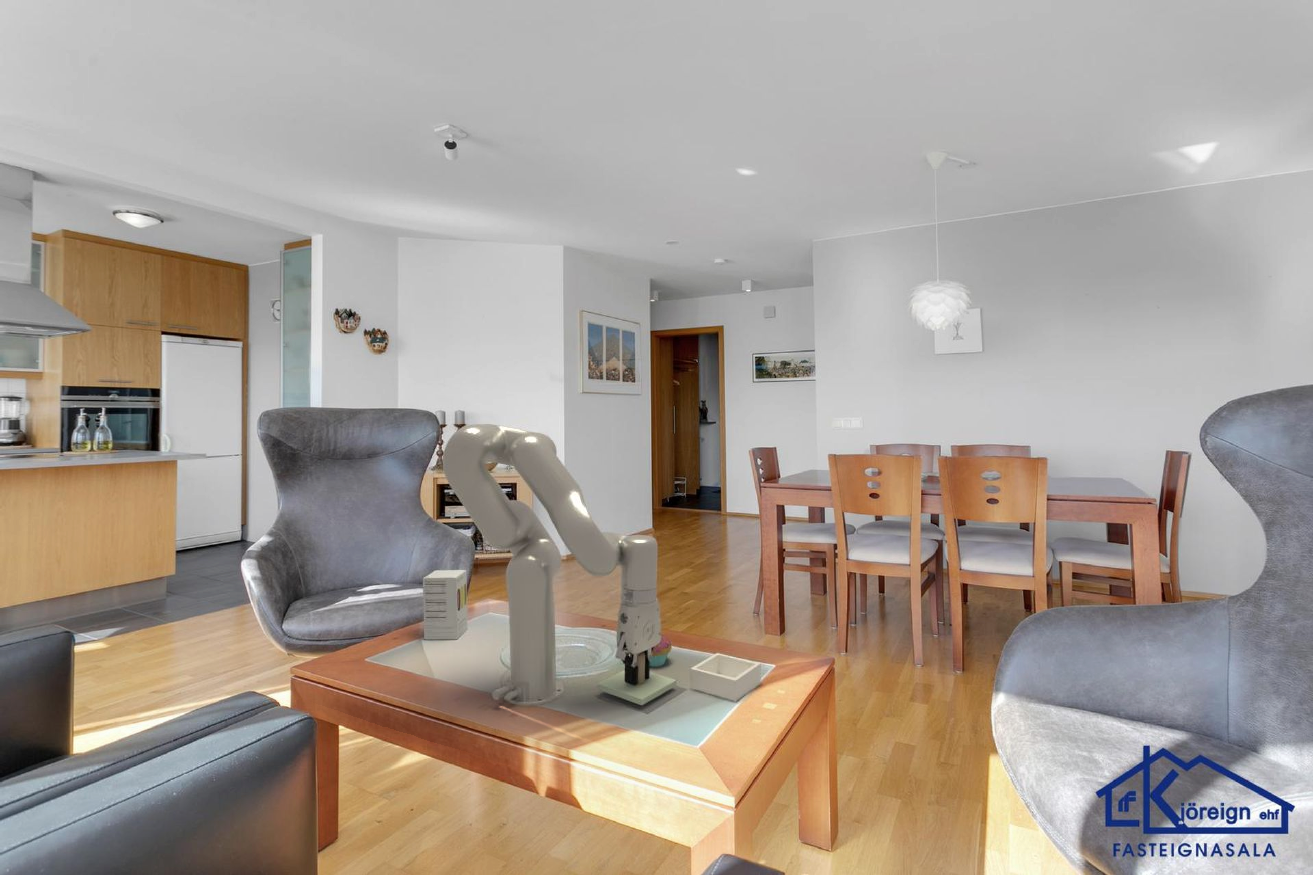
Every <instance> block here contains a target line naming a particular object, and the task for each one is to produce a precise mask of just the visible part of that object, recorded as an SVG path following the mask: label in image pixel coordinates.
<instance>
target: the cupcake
mask: <svg viewBox="0 0 1313 875" xmlns="http://www.w3.org/2000/svg"><path fill="white" fill-rule="evenodd" d="M668 638H669V637H668ZM668 638H667V636H664V635H662V634H661V640H660V642H659V644H657V645H656V646H655V647H654V649H653V651H652V658H651V660H649V661H650V667H661V666H663V665H665V663H666V659H667V656H668V655H669V653H670V652H671V650H672V648H673V647H672V642H671V640H670V639H668Z"/></svg>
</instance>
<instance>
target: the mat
mask: <svg viewBox="0 0 1313 875" xmlns="http://www.w3.org/2000/svg"><path fill="white" fill-rule="evenodd" d="M686 691H688V688H685V687H681V686H678V685H676V686H675V687H673V688H672V689H670V690H668V691H666V692H664V693H663V694H661V695H659V696H657V697H656V698H654V699H652V700H650V701H649V702H647V703H645V704H643V705H639V704H637V703H634V702H631V701H628V700H626V699H623V698H620V697H617V696H615V695H612V694H609V693H606V692H603V691H601V692H600V693H597V694H596V695H595V696H594V698H595V697H596V698H598V699H602V700H604V701H607V702H610V703H614V704H616V705H619V706H622V707H625V708H628V709H630V710H633V711H638V712H640V713H643V714H645V715H649V714H650V713H652V712H654V711H655V710H657V709H658V708H660V707H661V706H663V705H665V704H666V703H668V702H669V701H672V699H674V698H676V697H678V696H679V695H681V694H682V693H684V692H686Z"/></svg>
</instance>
